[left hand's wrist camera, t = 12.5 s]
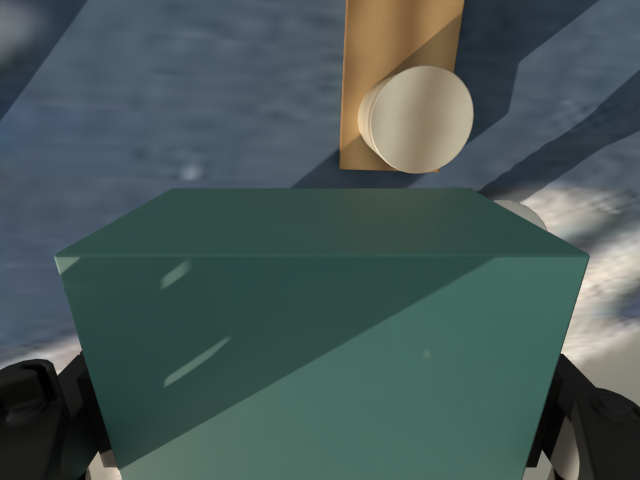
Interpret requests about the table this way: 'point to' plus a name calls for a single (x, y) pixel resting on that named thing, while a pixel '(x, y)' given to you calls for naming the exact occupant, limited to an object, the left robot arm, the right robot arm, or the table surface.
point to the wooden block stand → (402, 86)
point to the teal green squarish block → (321, 333)
